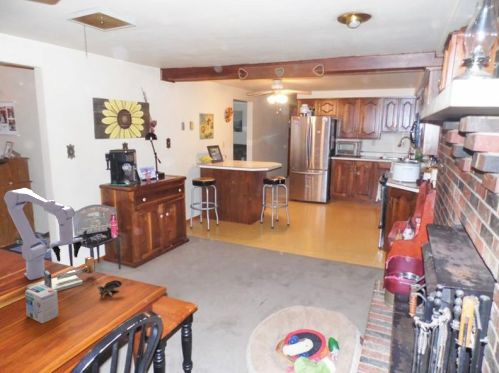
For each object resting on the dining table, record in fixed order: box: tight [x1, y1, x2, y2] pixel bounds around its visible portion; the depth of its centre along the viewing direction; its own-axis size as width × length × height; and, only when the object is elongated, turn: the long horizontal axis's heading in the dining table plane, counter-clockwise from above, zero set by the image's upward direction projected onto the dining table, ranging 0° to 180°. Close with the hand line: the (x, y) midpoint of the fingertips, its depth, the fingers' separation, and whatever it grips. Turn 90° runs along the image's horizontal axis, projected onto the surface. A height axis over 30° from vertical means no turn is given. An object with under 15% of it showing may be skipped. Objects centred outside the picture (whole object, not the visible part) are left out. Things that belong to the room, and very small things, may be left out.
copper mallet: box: [56, 256, 95, 280], centre depth 164 cm, size 4×17×7 cm, turn 137°
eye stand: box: [26, 269, 84, 292], centre depth 158 cm, size 12×20×8 cm, turn 137°
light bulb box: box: [24, 285, 59, 324], centre depth 133 cm, size 11×7×11 cm, turn 62°
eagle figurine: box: [96, 279, 123, 298], centre depth 152 cm, size 8×7×9 cm
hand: (67, 258), depth 164 cm, fingers open, 7 cm apart
